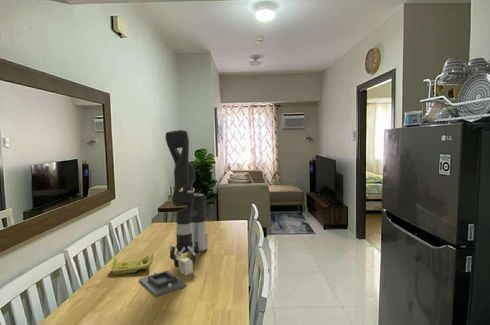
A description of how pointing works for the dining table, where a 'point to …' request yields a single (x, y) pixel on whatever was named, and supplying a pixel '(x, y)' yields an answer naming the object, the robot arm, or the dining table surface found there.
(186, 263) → the block
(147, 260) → the plastic component
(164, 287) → the housing plate
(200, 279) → the dining table surface
